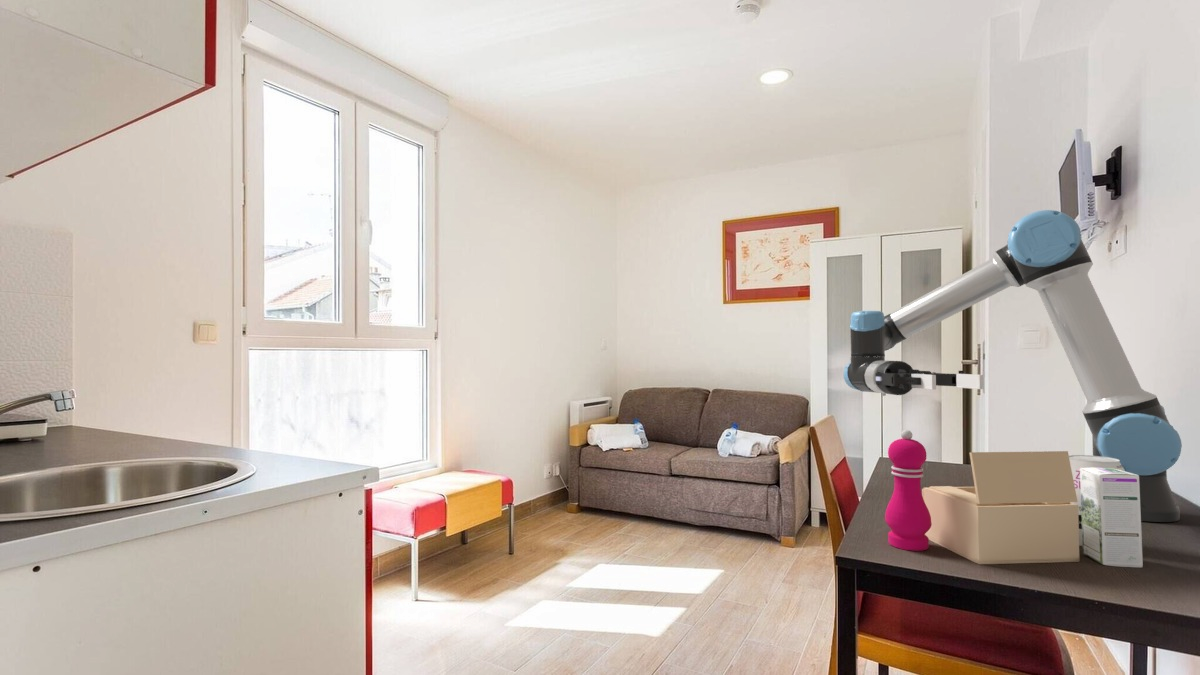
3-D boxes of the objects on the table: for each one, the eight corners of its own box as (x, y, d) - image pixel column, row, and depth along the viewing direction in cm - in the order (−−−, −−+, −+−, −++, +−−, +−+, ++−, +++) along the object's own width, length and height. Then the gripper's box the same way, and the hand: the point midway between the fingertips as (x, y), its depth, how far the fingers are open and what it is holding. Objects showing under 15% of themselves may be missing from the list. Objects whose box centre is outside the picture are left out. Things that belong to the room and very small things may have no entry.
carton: (1009, 534, 111) (1008, 482, 111) (1079, 561, 96) (1078, 502, 96) (921, 536, 110) (920, 484, 110) (978, 564, 95) (977, 504, 95)
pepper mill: (878, 538, 108) (876, 427, 109) (918, 539, 108) (917, 427, 108) (896, 551, 101) (895, 432, 101) (940, 552, 101) (938, 432, 101)
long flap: (1075, 501, 97) (1065, 451, 99) (1077, 501, 96) (1067, 451, 98) (977, 503, 96) (969, 452, 97) (979, 503, 95) (971, 452, 97)
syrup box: (1144, 568, 93) (1142, 474, 94) (1101, 565, 94) (1099, 472, 95) (1121, 556, 99) (1118, 467, 99) (1080, 553, 100) (1078, 466, 100)
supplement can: (1112, 540, 108) (1110, 455, 108) (1136, 554, 100) (1134, 463, 100) (1058, 535, 110) (1056, 453, 111) (1077, 549, 102) (1075, 460, 103)
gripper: (935, 394, 136) (1012, 401, 113) (844, 394, 134) (903, 402, 112) (935, 360, 136) (1011, 362, 114) (844, 360, 134) (902, 362, 112)
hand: (957, 382), depth 113 cm, fingers open, 9 cm apart
